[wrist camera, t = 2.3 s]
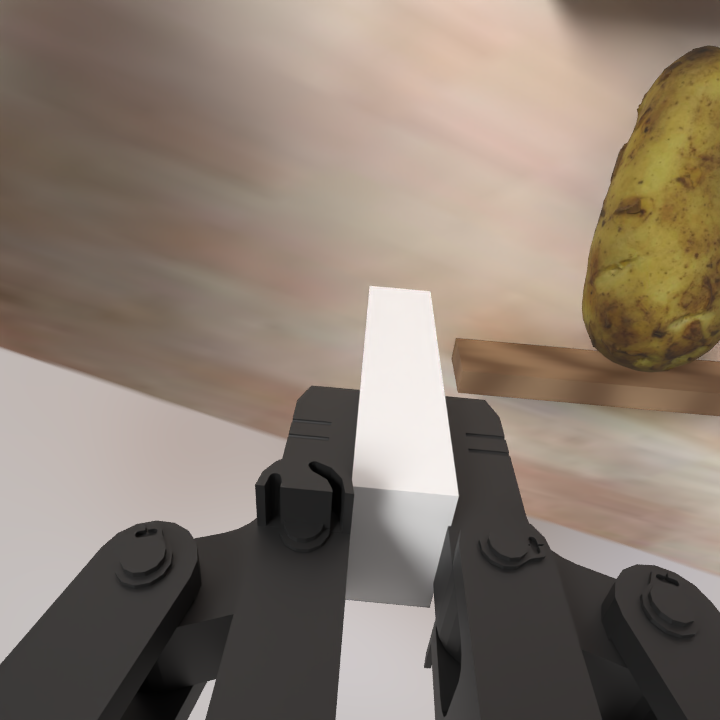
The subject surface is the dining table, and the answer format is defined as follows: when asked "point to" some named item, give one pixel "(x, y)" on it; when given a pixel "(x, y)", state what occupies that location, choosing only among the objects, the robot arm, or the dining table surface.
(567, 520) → the dining table surface
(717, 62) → the potato
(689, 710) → the robot arm
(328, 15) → the dining table surface
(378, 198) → the dining table surface
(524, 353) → the channel
